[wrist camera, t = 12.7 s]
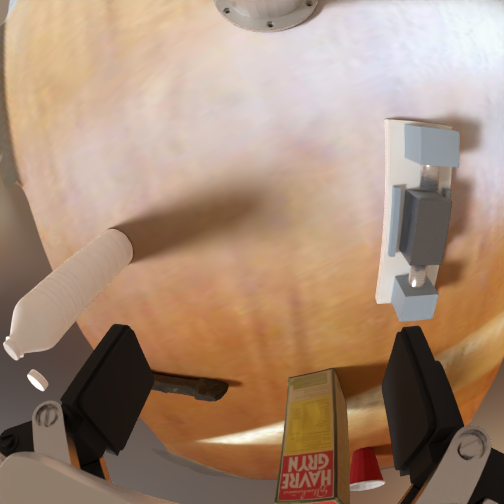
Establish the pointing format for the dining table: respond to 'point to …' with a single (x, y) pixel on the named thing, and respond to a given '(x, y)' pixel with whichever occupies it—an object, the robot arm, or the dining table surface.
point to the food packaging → (315, 442)
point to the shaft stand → (397, 180)
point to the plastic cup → (365, 470)
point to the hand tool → (191, 387)
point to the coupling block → (424, 227)
